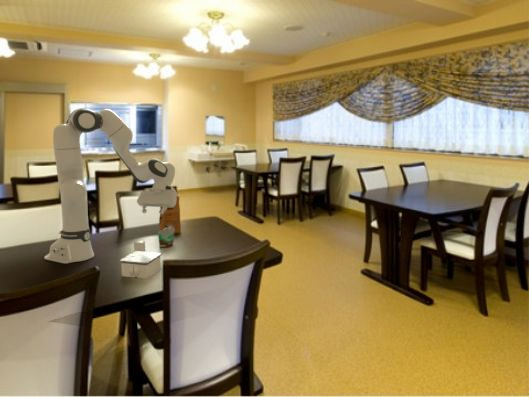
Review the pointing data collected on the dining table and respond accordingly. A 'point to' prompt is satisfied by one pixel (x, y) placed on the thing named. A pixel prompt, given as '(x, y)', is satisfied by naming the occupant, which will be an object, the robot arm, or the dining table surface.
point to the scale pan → (140, 257)
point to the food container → (166, 236)
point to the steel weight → (139, 246)
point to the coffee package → (171, 217)
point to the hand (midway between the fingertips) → (152, 212)
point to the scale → (141, 269)
